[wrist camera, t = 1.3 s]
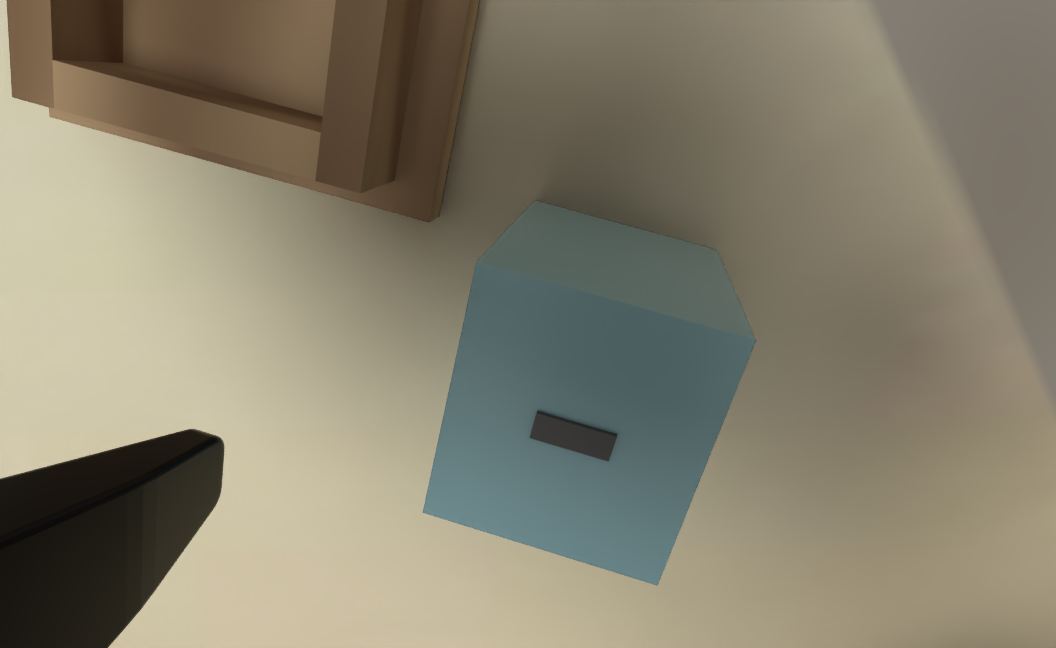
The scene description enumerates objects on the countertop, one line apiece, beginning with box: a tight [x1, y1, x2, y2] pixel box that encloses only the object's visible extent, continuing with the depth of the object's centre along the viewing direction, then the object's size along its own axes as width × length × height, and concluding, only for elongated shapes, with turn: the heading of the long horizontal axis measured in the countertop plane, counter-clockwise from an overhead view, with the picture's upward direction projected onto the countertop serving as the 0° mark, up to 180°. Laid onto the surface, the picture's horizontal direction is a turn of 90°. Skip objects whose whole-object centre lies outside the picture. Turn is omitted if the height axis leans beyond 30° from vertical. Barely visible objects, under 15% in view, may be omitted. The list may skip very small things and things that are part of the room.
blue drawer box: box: [423, 201, 756, 585], centre depth 14 cm, size 4×5×6 cm
